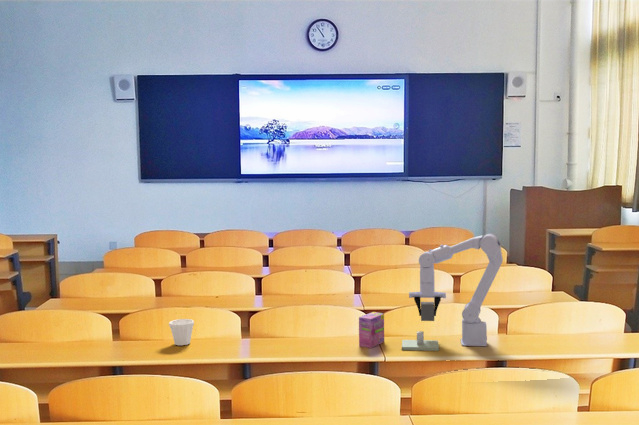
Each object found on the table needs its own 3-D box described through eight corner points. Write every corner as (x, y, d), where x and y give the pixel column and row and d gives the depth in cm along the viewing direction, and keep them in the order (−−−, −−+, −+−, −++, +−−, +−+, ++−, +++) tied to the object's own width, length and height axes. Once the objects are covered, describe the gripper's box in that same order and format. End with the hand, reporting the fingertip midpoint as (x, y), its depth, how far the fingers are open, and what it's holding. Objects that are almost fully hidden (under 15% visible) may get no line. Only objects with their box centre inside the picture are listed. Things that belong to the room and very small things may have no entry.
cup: (197, 340, 260) (197, 318, 260) (190, 347, 250) (189, 324, 250) (174, 340, 261) (173, 318, 261) (166, 347, 251) (165, 324, 251)
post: (423, 342, 246) (423, 331, 245) (423, 344, 243) (423, 333, 243) (416, 342, 246) (416, 331, 246) (416, 344, 243) (416, 333, 243)
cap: (434, 317, 254) (433, 301, 254) (434, 321, 249) (434, 304, 249) (421, 317, 255) (420, 301, 255) (421, 320, 250) (420, 304, 250)
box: (371, 348, 244) (370, 318, 243) (358, 346, 247) (358, 316, 246) (385, 342, 252) (384, 313, 251) (372, 340, 255) (372, 311, 255)
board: (438, 343, 248) (438, 340, 248) (438, 350, 239) (438, 347, 238) (402, 342, 251) (402, 339, 251) (401, 350, 241) (401, 346, 241)
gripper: (445, 280, 254) (445, 313, 255) (409, 280, 256) (409, 312, 257) (445, 283, 247) (446, 317, 248) (408, 283, 249) (409, 316, 250)
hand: (427, 315), depth 252 cm, fingers closed on cap, 5 cm apart
